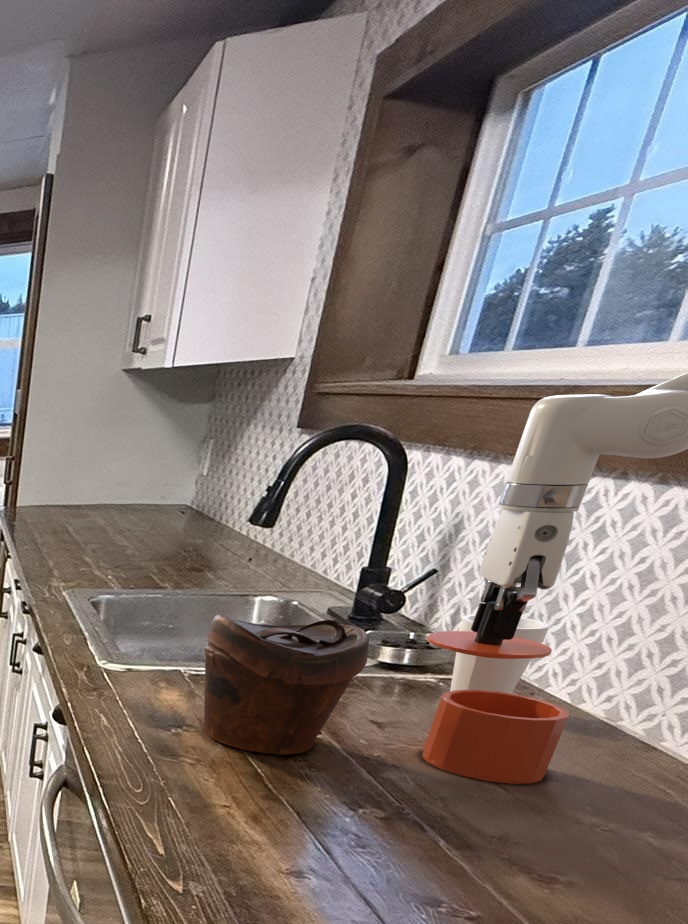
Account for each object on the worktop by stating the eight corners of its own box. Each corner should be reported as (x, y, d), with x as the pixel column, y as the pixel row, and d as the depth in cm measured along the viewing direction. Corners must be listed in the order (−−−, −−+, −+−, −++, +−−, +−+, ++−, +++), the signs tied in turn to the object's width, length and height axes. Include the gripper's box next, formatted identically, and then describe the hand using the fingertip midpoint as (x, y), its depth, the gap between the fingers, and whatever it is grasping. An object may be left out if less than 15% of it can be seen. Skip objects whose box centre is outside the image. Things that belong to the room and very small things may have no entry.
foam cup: (525, 704, 127) (557, 621, 122) (507, 717, 122) (539, 632, 117) (446, 689, 134) (473, 611, 129) (426, 701, 130) (453, 620, 125)
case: (370, 745, 115) (410, 619, 108) (285, 775, 107) (322, 642, 100) (239, 709, 130) (267, 596, 123) (156, 733, 122) (181, 614, 115)
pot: (520, 755, 110) (544, 695, 107) (561, 789, 100) (588, 724, 97) (410, 744, 115) (429, 686, 112) (439, 775, 105) (461, 713, 102)
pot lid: (525, 642, 117) (542, 596, 115) (567, 666, 107) (587, 617, 104) (413, 635, 123) (427, 591, 120) (442, 658, 112) (459, 610, 110)
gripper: (613, 505, 99) (554, 653, 106) (550, 491, 112) (502, 623, 119) (529, 504, 102) (478, 648, 109) (478, 491, 115) (435, 620, 122)
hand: (491, 634), depth 114 cm, fingers closed on pot lid, 2 cm apart
